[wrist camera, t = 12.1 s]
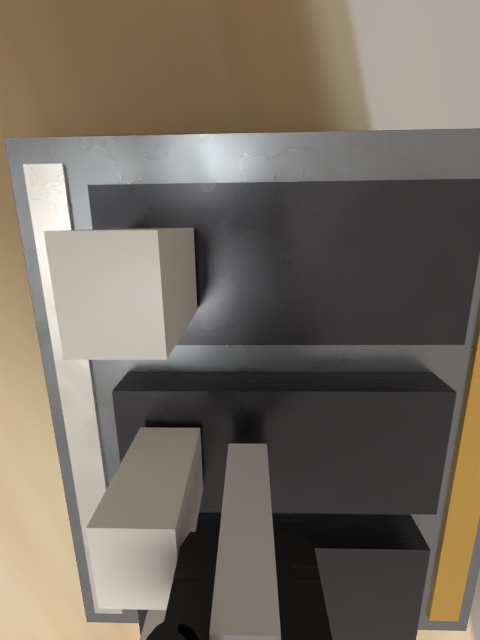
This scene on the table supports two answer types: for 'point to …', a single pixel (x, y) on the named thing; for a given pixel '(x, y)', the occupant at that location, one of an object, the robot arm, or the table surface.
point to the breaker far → (152, 622)
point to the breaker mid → (146, 519)
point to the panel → (292, 346)
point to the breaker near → (122, 291)
